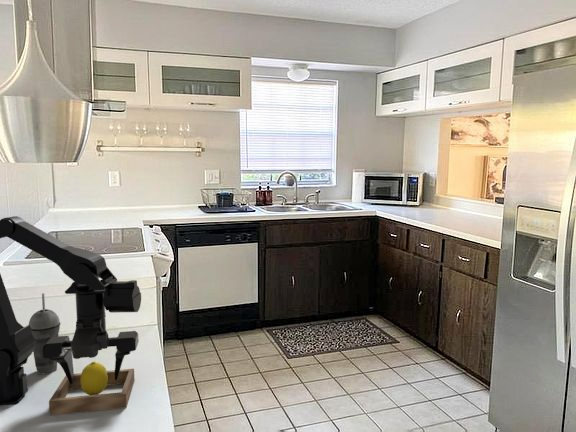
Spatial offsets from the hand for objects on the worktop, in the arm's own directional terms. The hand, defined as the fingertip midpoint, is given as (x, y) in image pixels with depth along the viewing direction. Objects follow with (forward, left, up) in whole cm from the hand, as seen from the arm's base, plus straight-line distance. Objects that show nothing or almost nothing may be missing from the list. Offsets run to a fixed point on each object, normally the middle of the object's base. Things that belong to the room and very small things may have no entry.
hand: (94, 381), depth 102 cm
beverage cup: (-15, +18, -4) cm, 23 cm away
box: (0, 0, -4) cm, 4 cm away
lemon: (0, 0, -4) cm, 4 cm away
